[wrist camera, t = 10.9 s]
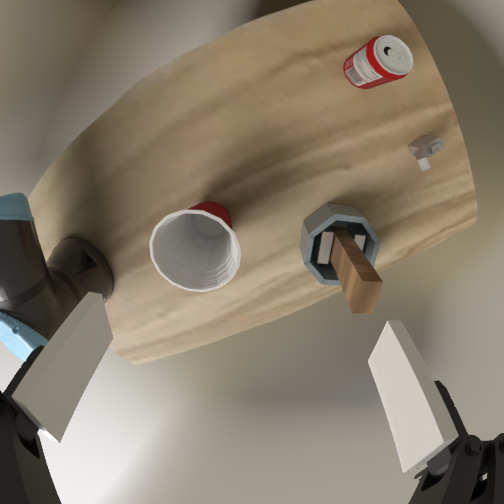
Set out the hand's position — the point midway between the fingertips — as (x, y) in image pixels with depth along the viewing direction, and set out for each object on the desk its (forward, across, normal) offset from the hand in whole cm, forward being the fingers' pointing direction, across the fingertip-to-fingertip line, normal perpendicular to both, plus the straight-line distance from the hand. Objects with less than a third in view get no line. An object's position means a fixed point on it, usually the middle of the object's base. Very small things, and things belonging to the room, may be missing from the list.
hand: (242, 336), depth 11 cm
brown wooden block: (+29, +13, -6) cm, 33 cm away
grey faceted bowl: (+30, +13, -6) cm, 33 cm away
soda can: (+30, +13, +20) cm, 38 cm away
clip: (+30, +13, -6) cm, 33 cm away
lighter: (+30, +24, +10) cm, 39 cm away
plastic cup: (+30, -6, -6) cm, 31 cm away
